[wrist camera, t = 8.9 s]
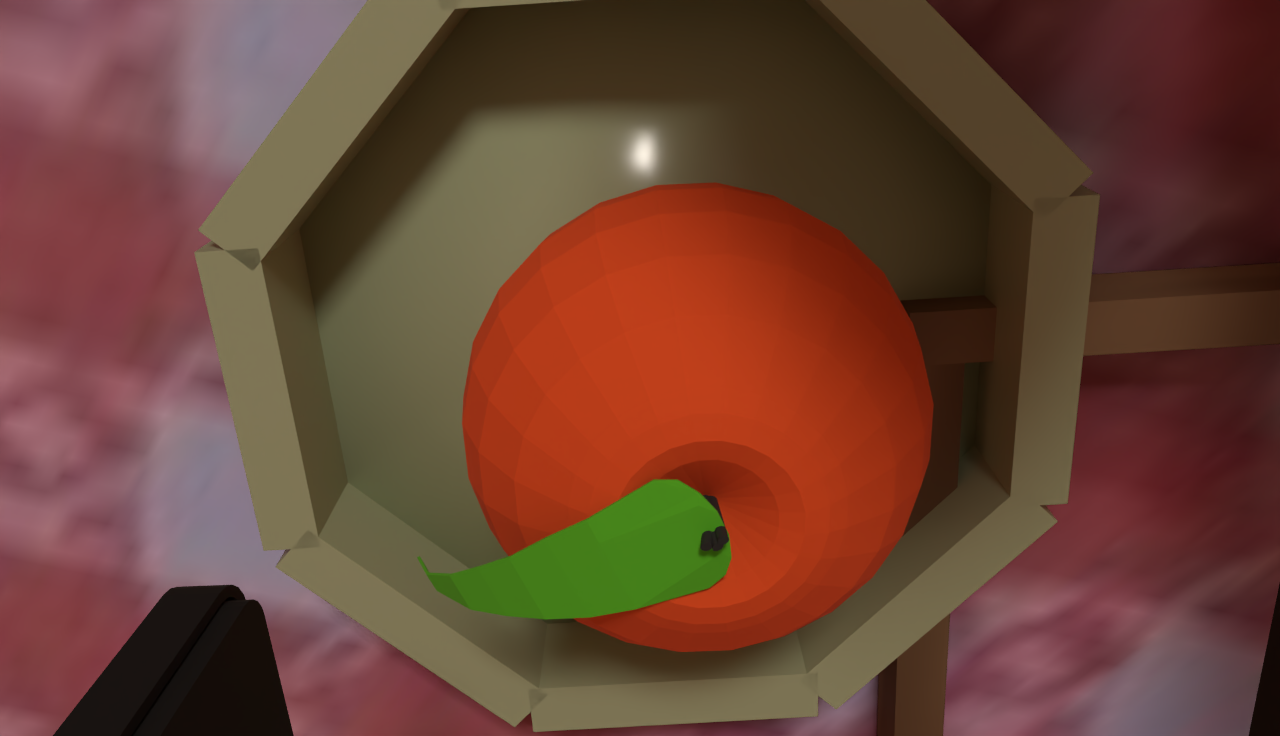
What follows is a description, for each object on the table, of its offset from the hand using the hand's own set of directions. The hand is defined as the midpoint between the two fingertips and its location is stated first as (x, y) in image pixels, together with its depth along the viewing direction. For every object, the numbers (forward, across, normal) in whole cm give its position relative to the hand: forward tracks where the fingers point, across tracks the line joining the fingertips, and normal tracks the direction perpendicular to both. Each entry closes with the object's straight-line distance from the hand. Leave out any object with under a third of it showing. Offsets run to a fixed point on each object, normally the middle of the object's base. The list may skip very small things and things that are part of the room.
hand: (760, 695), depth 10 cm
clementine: (+10, +1, 0) cm, 10 cm away
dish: (+11, +1, 0) cm, 11 cm away
